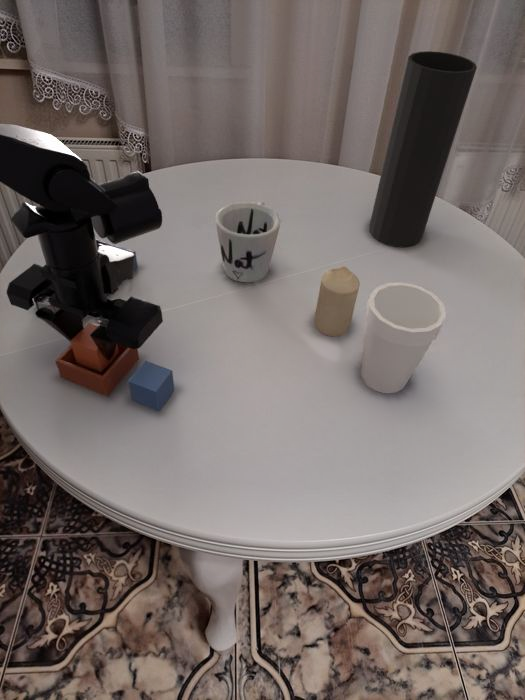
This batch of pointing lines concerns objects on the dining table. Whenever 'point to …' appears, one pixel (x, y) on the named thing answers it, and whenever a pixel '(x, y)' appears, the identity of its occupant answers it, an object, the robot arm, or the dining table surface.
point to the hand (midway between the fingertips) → (96, 352)
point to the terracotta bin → (93, 378)
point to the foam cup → (398, 333)
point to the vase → (419, 144)
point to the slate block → (151, 385)
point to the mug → (247, 239)
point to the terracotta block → (89, 350)
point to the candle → (336, 301)
